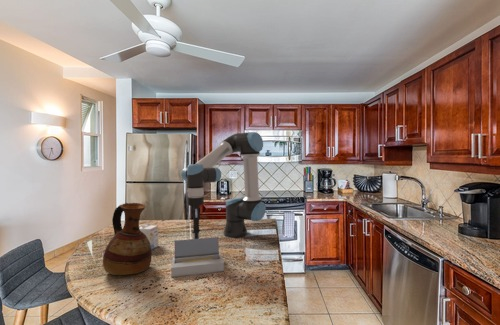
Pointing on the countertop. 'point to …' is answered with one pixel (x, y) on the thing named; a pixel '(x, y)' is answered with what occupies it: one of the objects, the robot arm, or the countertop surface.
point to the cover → (196, 247)
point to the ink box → (150, 233)
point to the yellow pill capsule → (196, 260)
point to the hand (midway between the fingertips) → (196, 245)
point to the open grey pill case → (197, 265)
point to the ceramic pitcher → (127, 243)
